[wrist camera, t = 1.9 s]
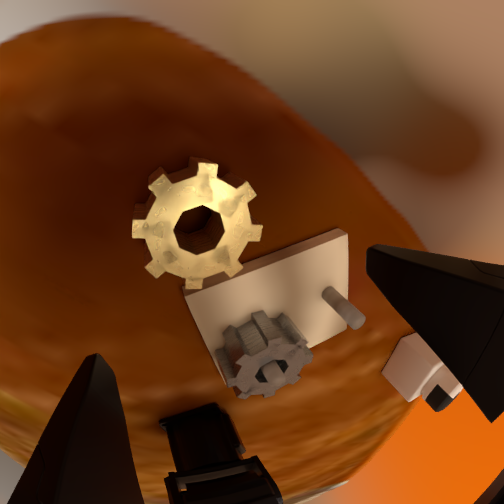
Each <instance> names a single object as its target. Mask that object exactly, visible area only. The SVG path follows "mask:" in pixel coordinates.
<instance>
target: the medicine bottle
mask: <svg viewBox="0 0 504 504" xmlns="http://www.w3.org/2000/svg"><path fill="white" fill-rule="evenodd" d="M382 374H383V375H384V376H385V378H386V379H387V380H388V381H389V382H390V383H391V384H392V385H393V386H394V387H395V388H396V389H397V391H398V392H399V393H400V394H401V395H402V396H403V397H404V398H405V399H406V400H407V401H408V402H410V401H412V400H413V399H415V398H416V397H418V396H419V395H421V394H422V395H423V396H422V398H423V399H424V400H425V401H426V402H427V403H428V404H429V405H430V406H431V408H432V409H433V410H434V411H435V412H439V411H441V410H443V409H445V407H447V406H448V405H449V404H450V403H451V402H452V401H453V400H454V399H455V398H456V397H457V395H458V394H459V393H460V391H461V390H462V388H463V386H462V385H461V384H460V383H459V381H458V380H457V379H456V378H455V376H454V375H453V374H452V373H451V372H450V370H449V369H448V368H447V367H446V366H445V364H444V363H443V362H442V361H441V360H440V358H439V357H438V356H437V355H436V354H435V353H434V352H433V350H432V349H431V348H430V347H429V346H428V345H427V343H426V342H425V341H424V340H423V339H422V338H421V337H420V336H419V335H418V333H417V332H416V333H413V334H411V335H408V336H405V337H403V338H401V339H400V341H399V343H398V344H397V346H396V348H395V350H394V352H393V353H392V355H391V357H390V359H389V360H388V362H387V364H386V365H385V367H384V369H383V370H382Z"/></svg>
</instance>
